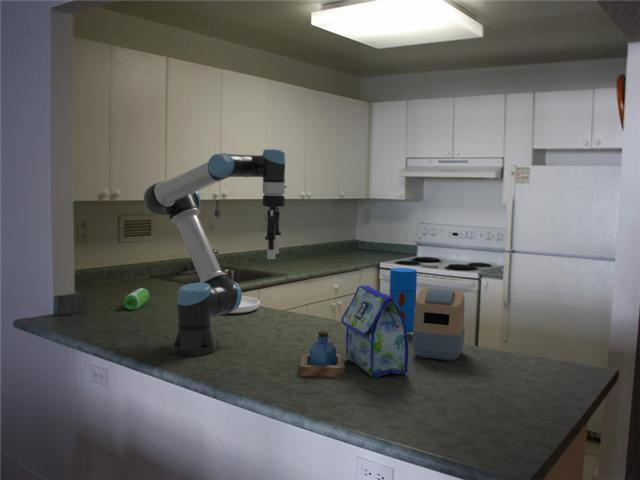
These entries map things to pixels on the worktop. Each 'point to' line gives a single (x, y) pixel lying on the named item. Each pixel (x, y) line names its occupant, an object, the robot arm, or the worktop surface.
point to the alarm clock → (439, 324)
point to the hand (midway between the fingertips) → (273, 256)
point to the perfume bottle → (323, 351)
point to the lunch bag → (376, 333)
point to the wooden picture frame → (322, 367)
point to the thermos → (404, 293)
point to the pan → (246, 305)
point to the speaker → (136, 299)
